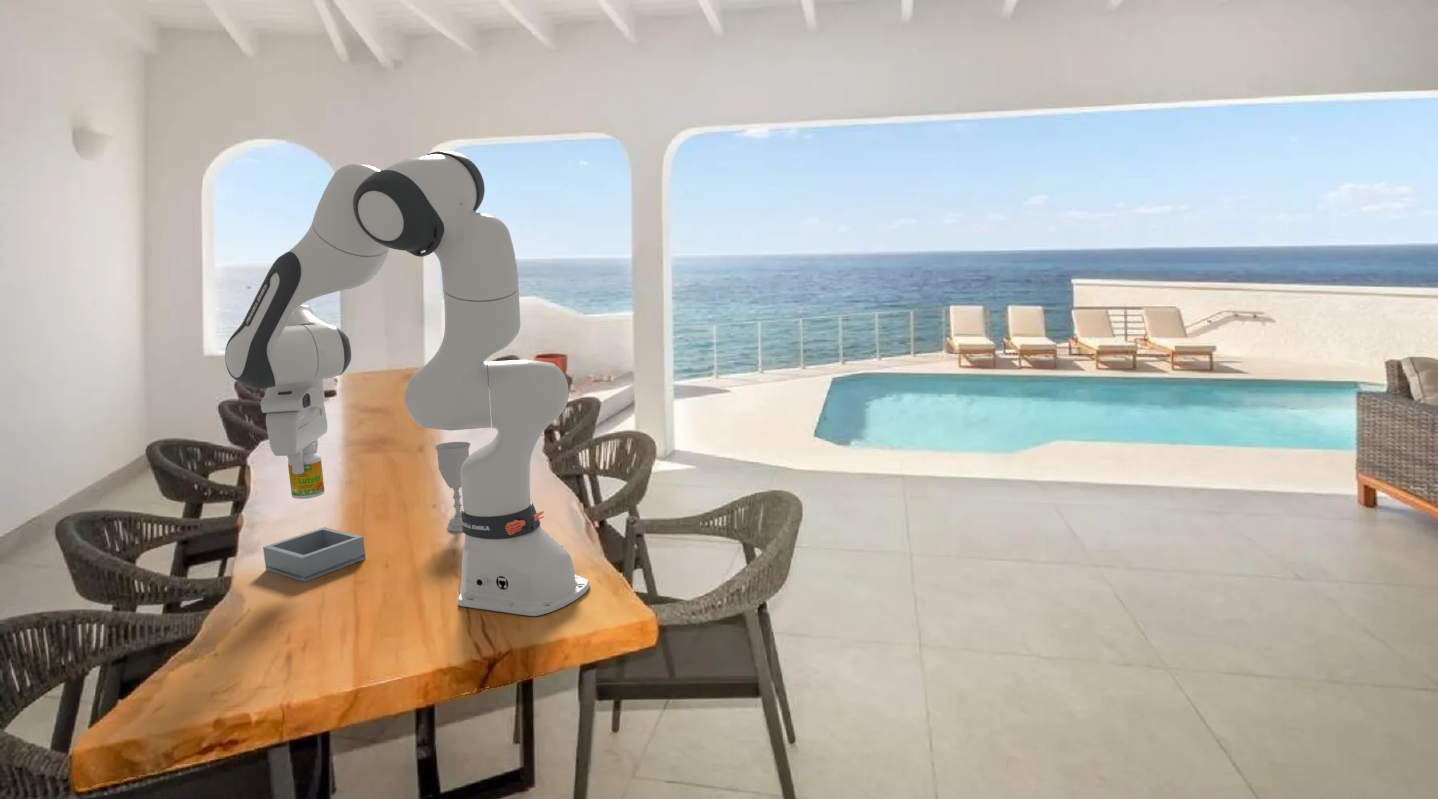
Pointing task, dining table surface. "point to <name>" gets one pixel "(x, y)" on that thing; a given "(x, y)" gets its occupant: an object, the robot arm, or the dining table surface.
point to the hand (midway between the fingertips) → (305, 468)
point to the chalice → (453, 474)
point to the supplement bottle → (308, 475)
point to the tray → (314, 553)
